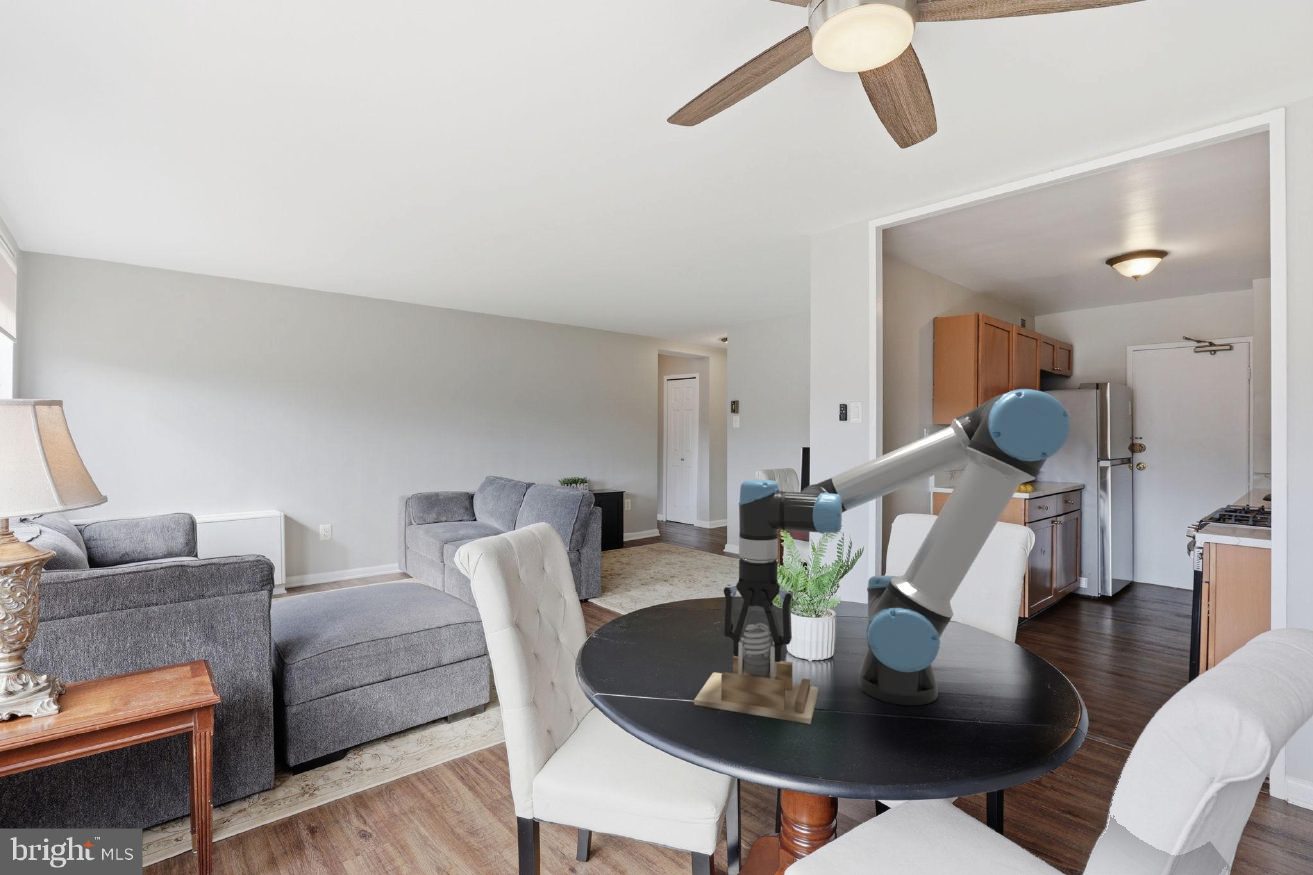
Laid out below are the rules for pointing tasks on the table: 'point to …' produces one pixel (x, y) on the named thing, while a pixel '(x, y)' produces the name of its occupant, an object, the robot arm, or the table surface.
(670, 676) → the table surface
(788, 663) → the u rest
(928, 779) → the table surface
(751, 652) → the light bulb
